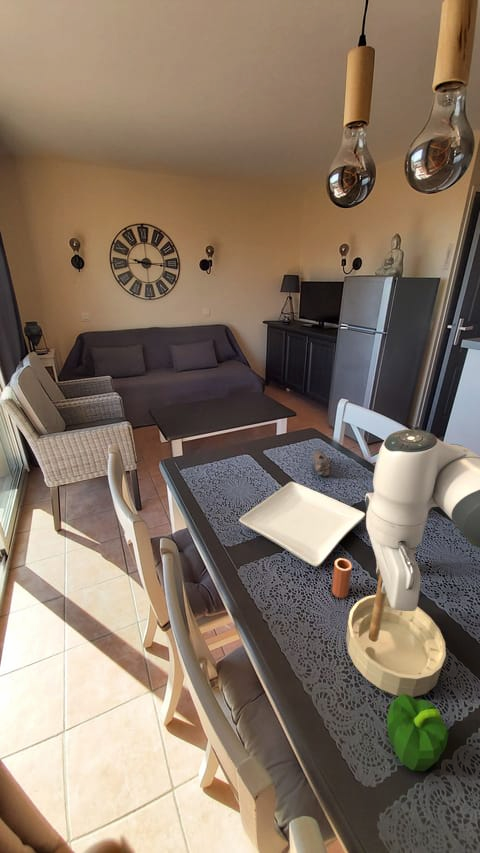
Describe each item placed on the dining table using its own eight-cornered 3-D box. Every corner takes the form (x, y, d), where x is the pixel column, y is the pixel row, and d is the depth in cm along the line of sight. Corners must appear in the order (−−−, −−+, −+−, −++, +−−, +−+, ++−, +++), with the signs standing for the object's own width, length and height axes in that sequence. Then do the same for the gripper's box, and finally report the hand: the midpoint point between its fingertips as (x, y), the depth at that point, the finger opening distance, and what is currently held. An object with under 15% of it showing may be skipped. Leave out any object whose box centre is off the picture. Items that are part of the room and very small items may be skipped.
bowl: (421, 617, 79) (426, 597, 76) (454, 704, 63) (462, 683, 61) (340, 611, 81) (342, 591, 78) (353, 694, 65) (357, 672, 63)
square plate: (237, 529, 107) (237, 518, 105) (291, 489, 125) (291, 479, 123) (316, 576, 90) (317, 565, 88) (365, 522, 108) (367, 511, 106)
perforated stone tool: (309, 460, 143) (310, 444, 140) (322, 459, 143) (323, 444, 140) (317, 480, 129) (318, 463, 127) (331, 480, 129) (333, 463, 127)
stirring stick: (376, 633, 73) (391, 558, 64) (378, 642, 71) (394, 565, 63) (367, 633, 73) (381, 557, 65) (369, 641, 71) (383, 564, 63)
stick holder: (347, 585, 87) (350, 558, 84) (349, 598, 84) (353, 571, 80) (330, 584, 87) (333, 557, 84) (332, 597, 84) (335, 570, 81)
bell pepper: (382, 768, 55) (391, 731, 51) (383, 711, 62) (391, 675, 58) (443, 793, 53) (458, 756, 48) (437, 731, 60) (449, 694, 55)
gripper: (438, 572, 50) (420, 638, 56) (397, 489, 69) (387, 546, 75) (391, 569, 51) (378, 635, 57) (363, 488, 70) (356, 544, 75)
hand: (383, 583), depth 66 cm, fingers closed on stirring stick, 2 cm apart
